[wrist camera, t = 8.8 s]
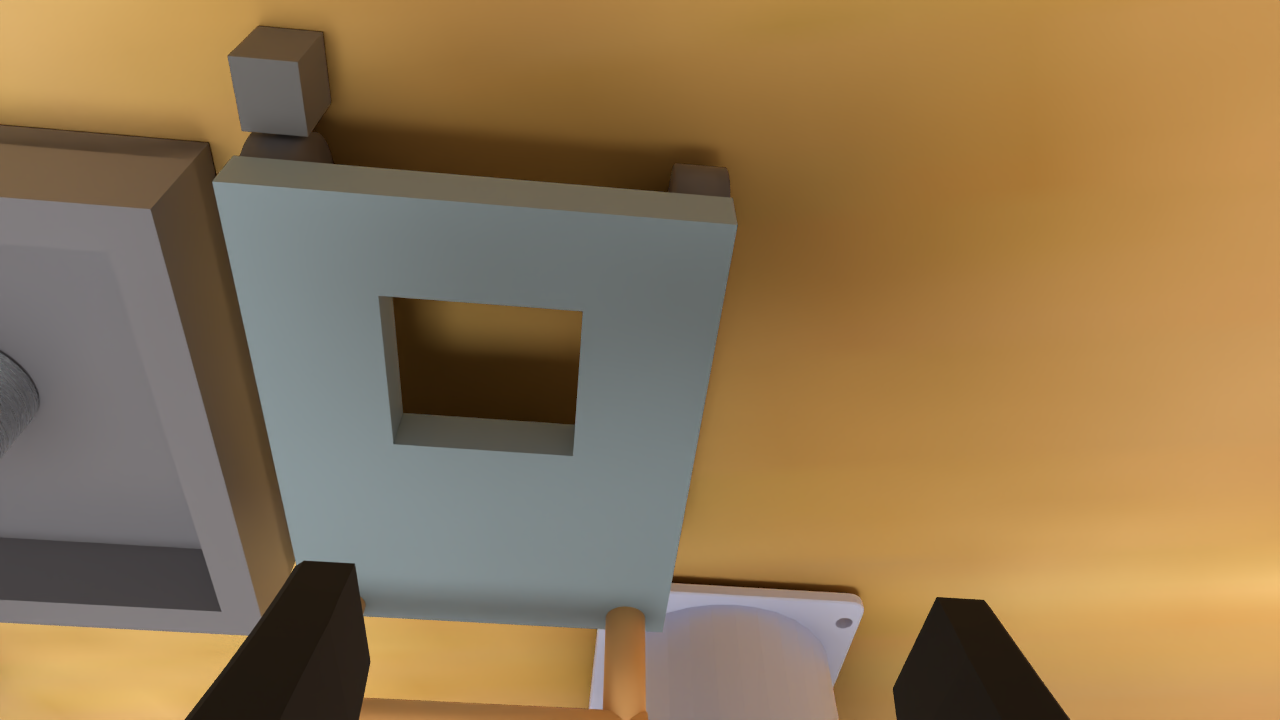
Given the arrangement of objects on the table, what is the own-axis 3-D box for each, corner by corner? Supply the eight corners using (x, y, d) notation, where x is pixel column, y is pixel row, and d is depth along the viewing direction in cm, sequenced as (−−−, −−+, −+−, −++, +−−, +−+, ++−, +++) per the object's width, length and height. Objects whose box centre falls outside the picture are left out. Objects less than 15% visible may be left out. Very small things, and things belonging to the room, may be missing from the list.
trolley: (659, 531, 26) (666, 768, 20) (338, 511, 25) (255, 749, 20) (734, 70, 17) (779, 261, 12) (258, 25, 17) (75, 204, 11)
